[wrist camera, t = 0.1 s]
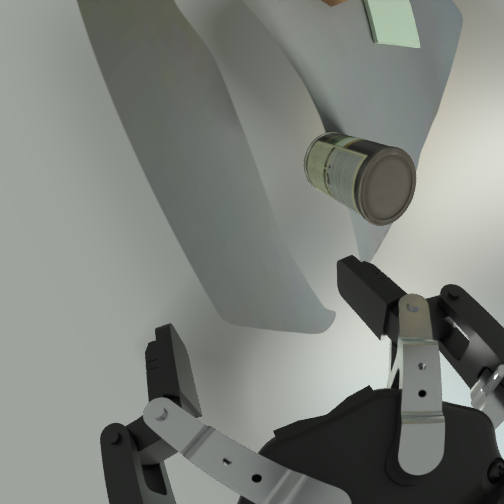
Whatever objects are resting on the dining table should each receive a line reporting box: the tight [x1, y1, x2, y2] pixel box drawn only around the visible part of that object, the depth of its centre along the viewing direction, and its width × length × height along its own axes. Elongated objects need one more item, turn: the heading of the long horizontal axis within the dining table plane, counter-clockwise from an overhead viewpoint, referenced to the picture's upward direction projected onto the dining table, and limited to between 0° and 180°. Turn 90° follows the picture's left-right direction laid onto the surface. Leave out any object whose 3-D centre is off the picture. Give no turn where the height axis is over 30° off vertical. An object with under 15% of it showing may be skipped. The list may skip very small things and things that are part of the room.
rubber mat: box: [364, 0, 420, 48], centre depth 31 cm, size 12×12×1 cm
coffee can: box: [304, 132, 416, 226], centre depth 37 cm, size 10×10×14 cm
